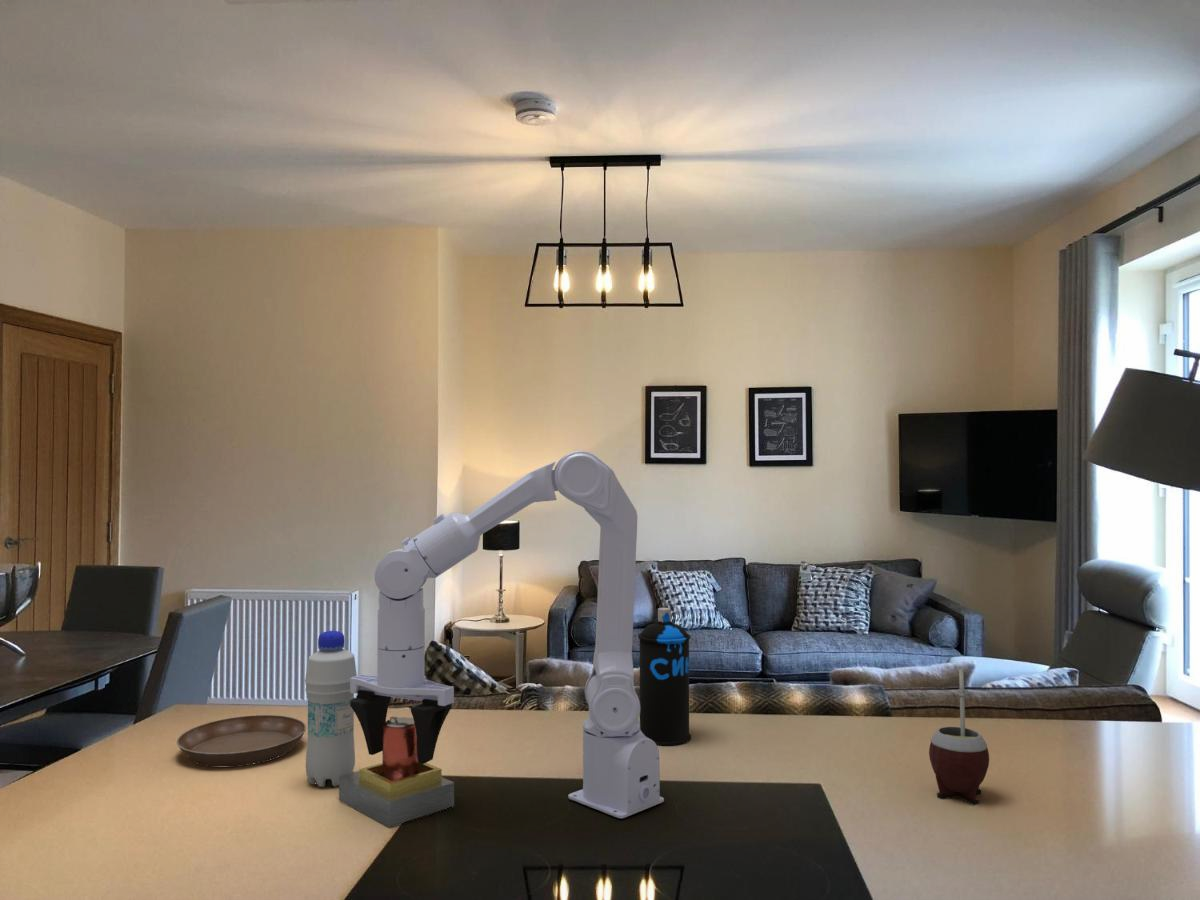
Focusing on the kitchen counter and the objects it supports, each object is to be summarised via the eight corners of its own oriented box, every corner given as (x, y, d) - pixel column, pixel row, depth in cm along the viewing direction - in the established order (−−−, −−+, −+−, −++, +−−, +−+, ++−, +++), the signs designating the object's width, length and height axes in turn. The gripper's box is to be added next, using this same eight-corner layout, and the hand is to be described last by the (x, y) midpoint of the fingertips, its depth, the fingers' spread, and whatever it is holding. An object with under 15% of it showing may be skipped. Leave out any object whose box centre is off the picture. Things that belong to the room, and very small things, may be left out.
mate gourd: (953, 808, 106) (952, 685, 106) (914, 786, 114) (913, 671, 114) (1004, 802, 108) (1003, 681, 108) (962, 780, 116) (961, 668, 116)
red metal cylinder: (425, 780, 107) (426, 715, 107) (395, 790, 104) (395, 723, 104) (405, 771, 110) (405, 708, 110) (375, 780, 107) (375, 716, 107)
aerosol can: (628, 733, 136) (628, 606, 137) (674, 727, 140) (674, 603, 140) (653, 749, 129) (653, 614, 129) (701, 741, 132) (700, 610, 133)
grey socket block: (454, 806, 106) (454, 770, 107) (389, 828, 100) (389, 788, 100) (394, 779, 116) (395, 745, 116) (332, 796, 110) (333, 761, 110)
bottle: (341, 792, 111) (342, 636, 112) (293, 788, 113) (295, 634, 113) (365, 774, 118) (366, 627, 119) (320, 771, 119) (321, 625, 120)
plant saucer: (266, 776, 118) (266, 754, 118) (149, 769, 121) (149, 747, 121) (326, 737, 136) (327, 717, 136) (223, 731, 138) (223, 712, 138)
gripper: (468, 645, 108) (467, 755, 108) (376, 636, 114) (375, 739, 114) (434, 656, 102) (433, 773, 101) (338, 645, 108) (337, 755, 107)
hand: (400, 756), depth 107 cm, fingers open, 7 cm apart
